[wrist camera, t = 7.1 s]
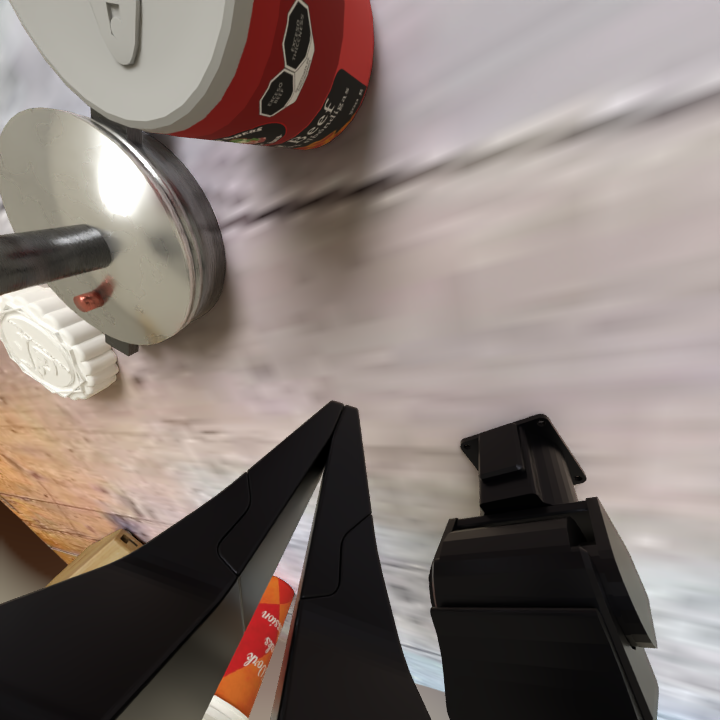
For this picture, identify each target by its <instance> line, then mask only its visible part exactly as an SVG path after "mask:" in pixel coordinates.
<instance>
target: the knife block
mask: <svg viewBox="0 0 720 720" xmlns="http://www.w3.org/2000/svg"><path fill="white" fill-rule="evenodd" d="M141 546H143V544H141V543H140V542H139V541H138V540H136V539H135V538H134V537H133V536H132V534H131V533H130V532H129V531H127V530H124V529H120V530H118V531H116V532H114V533H112V534H110V535H108V536H106V537H104V538H103V539H102V540H100V541H98V542H96V543H94V544H92V545H90V546H89V547H87V548H86V549H85V550H84V551H83V552H82V553H81V554H80V555H79V556H78V557H77V558H76V559H75V560H73V561H72V562H71V563H70V564H69V565H68V566H67V567H66V568H65V569H64V570H63V571H62V572H61V573H60V574H59V575H57V576H56V577H55V578H54V579H53V580H52V581H51V582H50V583H49V584H48V585H47V586H46V587H48V586H50V585H53V584H56V583H58V582H61V581H64V580H67V579H69V578H72V577H75V576H77V575H80V574H83V573H86V572H88V571H91V570H94V569H96V568H99V567H102V566H104V565H107V564H109V563H111V562H114V561H116V560H118V559H120V558H122V557H124V556H126V555H128V554H130V553H131V552H133V551H135V550H136V549H138V548H140V547H141Z"/></svg>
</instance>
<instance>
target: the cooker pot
mask: <svg viewBox="0 0 720 720" xmlns="http://www.w3.org/2000/svg"><path fill="white" fill-rule="evenodd" d="M81 116H82V115H81ZM84 117H86V116H84ZM86 118H88V119H90V120H92V121H94V122H96V123H97V124H99V125H100V126H102V127H103V128H105V129H106V130H108V131H109V132H111V133H112V134H113V135H114V136H116V137H117V138H118V139H119V140H120V141H122V142H123V143H124V144H125V145H126V146H127V147H128V148H129V149H130V150H131V151H132V152H133V153H134V154H135V155H136V156H137V157H138V158H139V159H140V160H141V161H142V162H143V164H144V165H145V166H146V167H147V169H148V170H149V171H150V172H151V173H152V175H153V176H154V178H155V179H156V180H157V182H158V183H159V185H160V186H161V188H162V189H163V191H164V192H165V194H166V196H167V197H168V199H169V201H170V203H171V204H172V206H173V208H174V210H175V212H176V214H177V216H178V218H179V220H180V222H181V224H182V227H183V230H184V232H185V235H186V238H187V240H188V243H189V247H190V251H191V254H192V258H193V264H194V270H195V282H196V290H195V301H194V305H193V310H192V312H191V315H190V317H189V319H188V321H187V323H186V324H185V326H184V327H183V328H185V327H186V326H187V325H188V324H189V323H190V322H192V321H194V320H195V319H197V318H199V317H201V316H203V315H204V314H206V313H207V312H208V311H209V310H210V309H211V308H212V307H213V306H214V305H215V303H216V302H217V300H218V298H219V296H220V294H221V291H222V287H223V284H224V278H225V253H224V246H223V241H222V237H221V233H220V229H219V226H218V223H217V220H216V218H215V215H214V213H213V211H212V208H211V206H210V204H209V202H208V200H207V198H206V196H205V195H204V193H203V191H202V189H201V188H200V186H199V185H198V183H197V182H196V180H195V179H194V177H193V176H192V175H191V173H190V172H189V171H188V169H187V168H186V167H185V166H184V164H183V163H182V162H181V161H180V160H179V159H178V158H177V157H176V156H175V155H174V154H173V153H172V152H171V151H170V150H168V149H167V148H166V147H165V146H164V145H163V144H161V143H160V142H159V141H157V140H156V139H154V138H153V137H151V136H150V135H148V134H146V133H144V132H142V130H140V129H137V128H130V127H127V126H125V125H122V124H120V123H117V122H114V121H112V120H109V119H108V118H106V117H105V116H103V115H102V114H100V113H99V112H97V111H96V110H94V109H93V108H91V118H89V117H86ZM183 328H182V329H183ZM182 329H181V330H182ZM105 343H107V344H109V345H110V346H112V347H114V348H115V349H117V350H119V351H120V352H122V353H124V354H126V355H127V356H130V355H132V354H134V353H136V352H138V346H139V345H136V344H130V343H127V342H123V341H120V340H117V339H115V338H113V337H110V336H108V335H107V334H105Z"/></svg>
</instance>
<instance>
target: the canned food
mask: <svg viewBox="0 0 720 720" xmlns="http://www.w3.org/2000/svg"><path fill="white" fill-rule="evenodd" d="M9 2H10V3H11V5H12V7H13V9H14V11H15V13H16V15H17V16H18V18H19V20H20V22H21V24H22V26H23V27H24V29H25V31H26V32H27V34H28V35H29V37H30V38H31V40H32V41H33V43H34V44H35V46H36V47H37V49H38V50H39V52H40V53H41V55H42V56H43V58H44V59H45V61H46V62H47V63H48V64H49V65H50V67H51V68H52V69H53V70H54V71H55V73H56V74H57V75H58V76H59V77H60V79H61V80H62V81H63V82H64V83H65V85H66V86H67V87H68V88H70V89H71V90H72V91H73V92H74V93H75V94H76V95H77V96H78V97H79V98H80V99H81V100H83V101H84V102H85V103H86V104H87V105H88V106H89V107H91V108H93V109H94V110H96V111H97V112H99V113H100V114H102V115H103V116H105V117H106V118H108V119H109V120H112V121H114V122H117V123H120V124H122V125H125V126H127V127H130V128H137V129H140V130H142V131H145V132H150V133H158V134H167V135H171V136H177V137H187V138H196V139H206V140H215V141H224V142H234V143H243V144H253V145H262V146H271V147H281V148H290V149H300V150H307V149H313V148H318V147H320V146H322V145H324V144H326V143H329V142H330V141H331V140H333V139H334V138H335V137H336V136H338V135H339V134H340V133H341V132H342V131H343V130H344V129H345V128H346V127H347V125H348V124H349V123H350V122H351V121H352V119H353V118H354V116H355V114H356V113H357V111H358V109H359V107H360V106H361V104H362V101H363V98H364V96H365V93H366V91H367V88H368V84H369V79H370V75H371V70H372V62H373V50H374V33H373V16H372V11H371V5H370V0H9Z"/></svg>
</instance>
